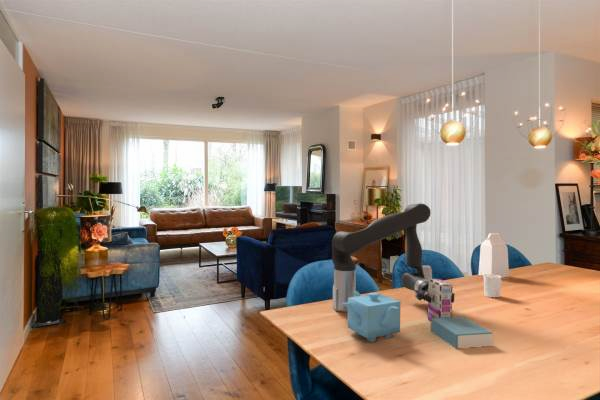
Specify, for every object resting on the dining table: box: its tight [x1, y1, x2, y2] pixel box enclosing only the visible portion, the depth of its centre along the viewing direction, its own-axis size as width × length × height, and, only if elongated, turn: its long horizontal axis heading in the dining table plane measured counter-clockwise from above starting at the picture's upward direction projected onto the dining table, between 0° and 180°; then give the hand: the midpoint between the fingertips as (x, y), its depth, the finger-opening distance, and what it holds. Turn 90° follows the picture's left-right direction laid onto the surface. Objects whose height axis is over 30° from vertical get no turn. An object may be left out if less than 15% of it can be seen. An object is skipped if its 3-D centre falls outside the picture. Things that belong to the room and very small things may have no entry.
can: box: [422, 264, 433, 281], centre depth 203 cm, size 8×8×12 cm
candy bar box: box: [427, 278, 453, 322], centre depth 149 cm, size 11×5×16 cm, turn 5°
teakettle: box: [341, 290, 401, 343], centre depth 137 cm, size 19×19×15 cm
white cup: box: [482, 274, 502, 299], centre depth 190 cm, size 8×8×10 cm
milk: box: [478, 232, 510, 277], centre depth 234 cm, size 12×12×26 cm
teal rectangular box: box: [430, 316, 494, 349], centre depth 135 cm, size 13×16×5 cm
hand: (441, 300), depth 147 cm, fingers open, 8 cm apart
